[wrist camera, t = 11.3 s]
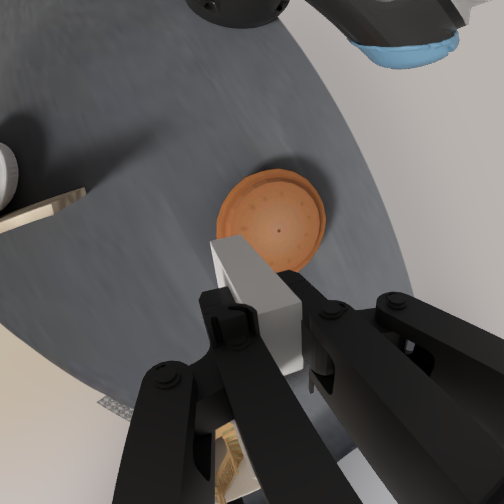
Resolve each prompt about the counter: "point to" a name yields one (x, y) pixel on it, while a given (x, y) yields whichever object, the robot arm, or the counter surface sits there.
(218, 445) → the staircase
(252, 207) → the pie
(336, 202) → the counter surface
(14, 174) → the ramekin
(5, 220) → the scale board
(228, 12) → the robot arm
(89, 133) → the counter surface
